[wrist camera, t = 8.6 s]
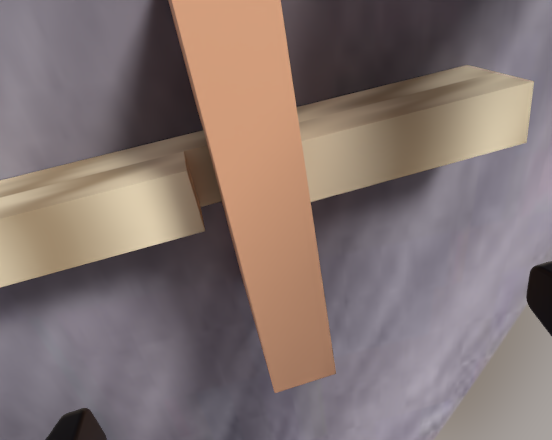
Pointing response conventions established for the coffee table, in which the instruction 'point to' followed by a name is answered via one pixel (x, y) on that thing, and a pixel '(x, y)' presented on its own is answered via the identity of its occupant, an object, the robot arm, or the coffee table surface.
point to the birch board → (203, 184)
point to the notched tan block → (260, 175)
